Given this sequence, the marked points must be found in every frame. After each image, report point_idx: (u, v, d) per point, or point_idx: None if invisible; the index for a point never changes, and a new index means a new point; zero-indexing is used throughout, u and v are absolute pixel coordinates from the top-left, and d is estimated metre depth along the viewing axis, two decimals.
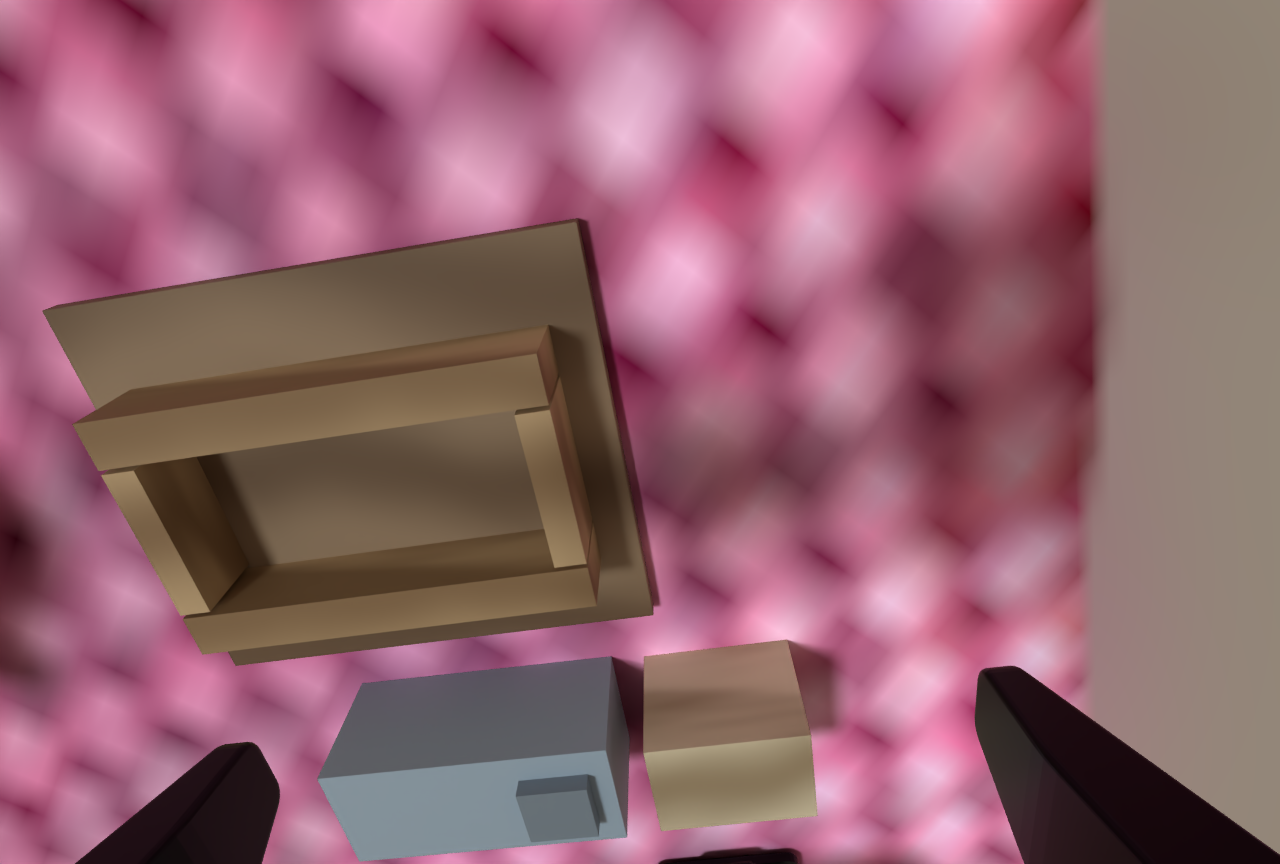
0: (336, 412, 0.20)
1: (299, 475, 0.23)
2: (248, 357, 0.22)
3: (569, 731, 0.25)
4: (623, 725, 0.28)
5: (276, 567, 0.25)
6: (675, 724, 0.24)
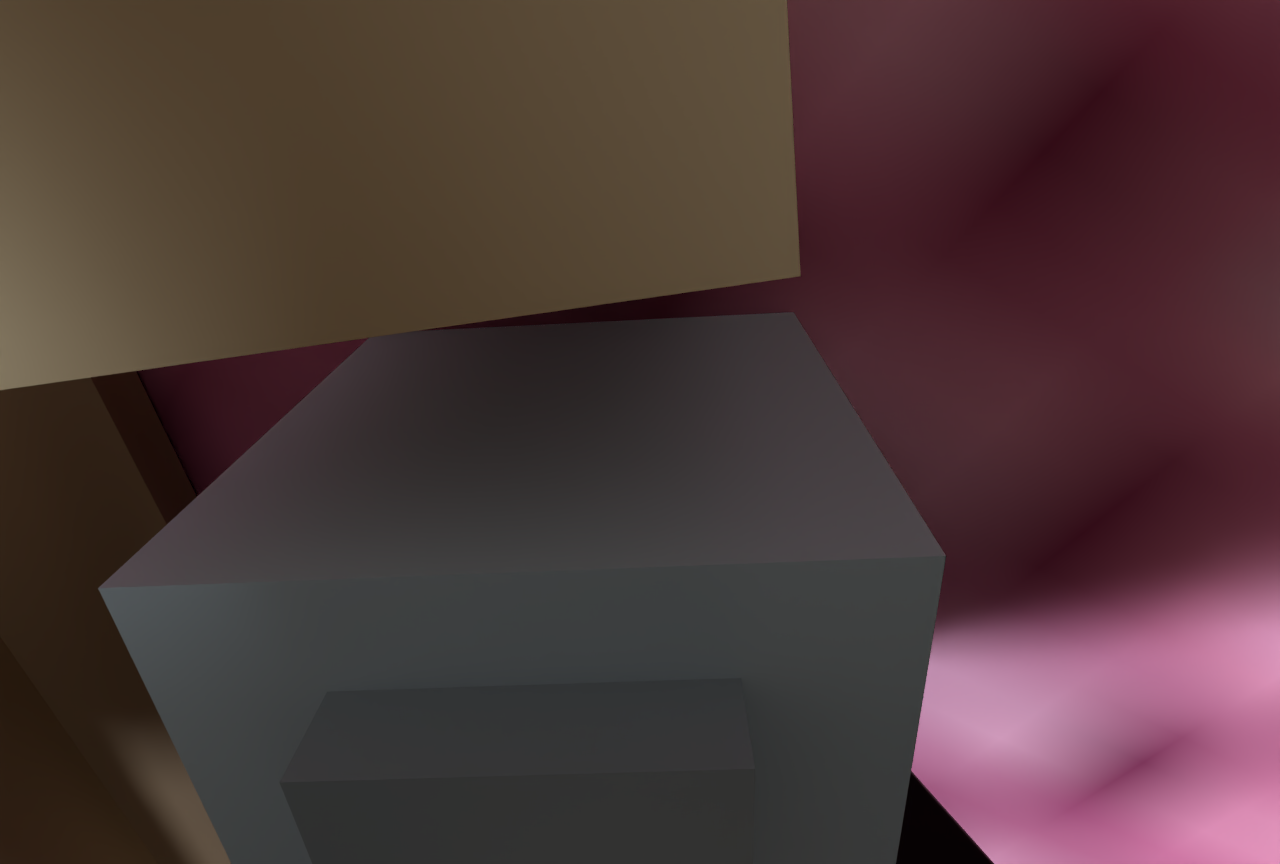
0: None
1: None
2: None
3: None
4: (659, 338, 0.07)
5: None
6: None
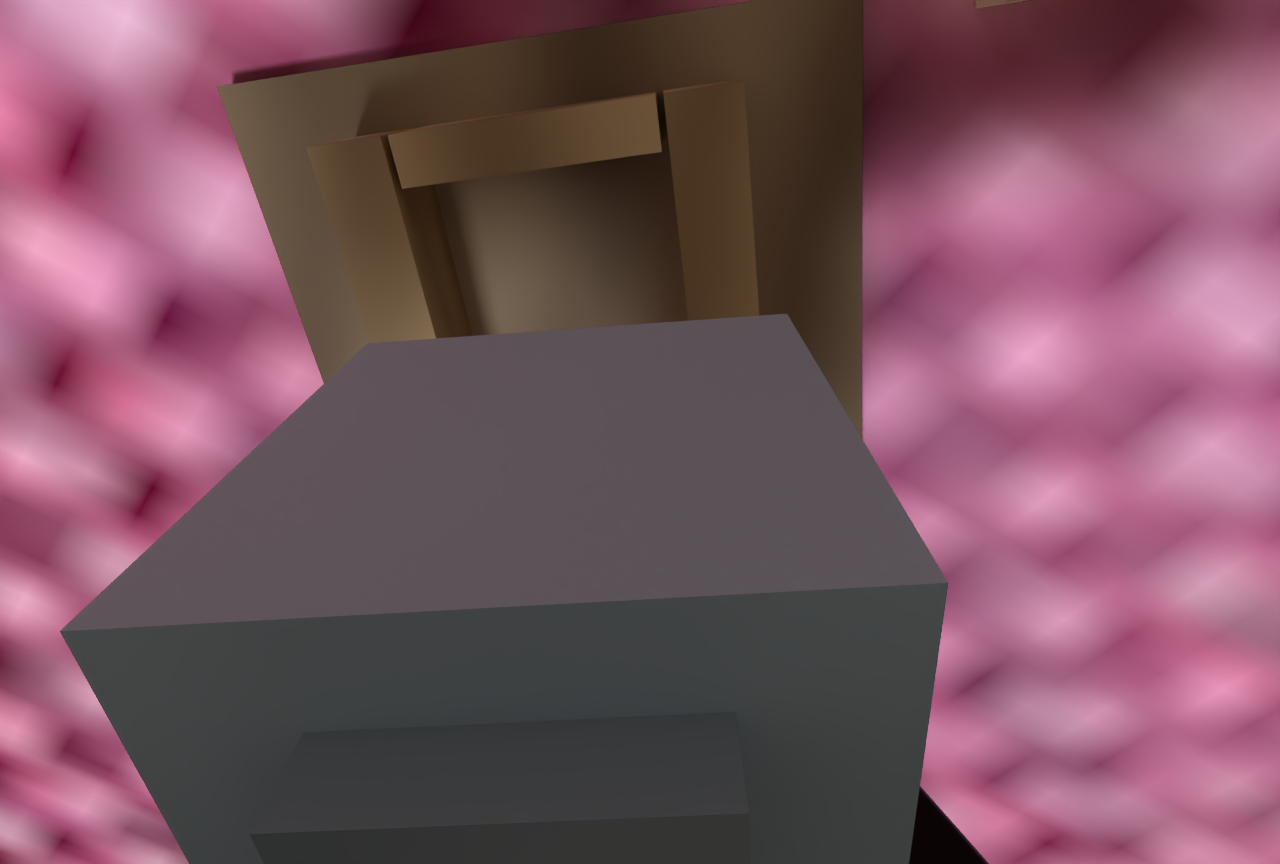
0: None
1: None
2: None
3: None
4: (652, 348, 0.07)
5: None
6: None
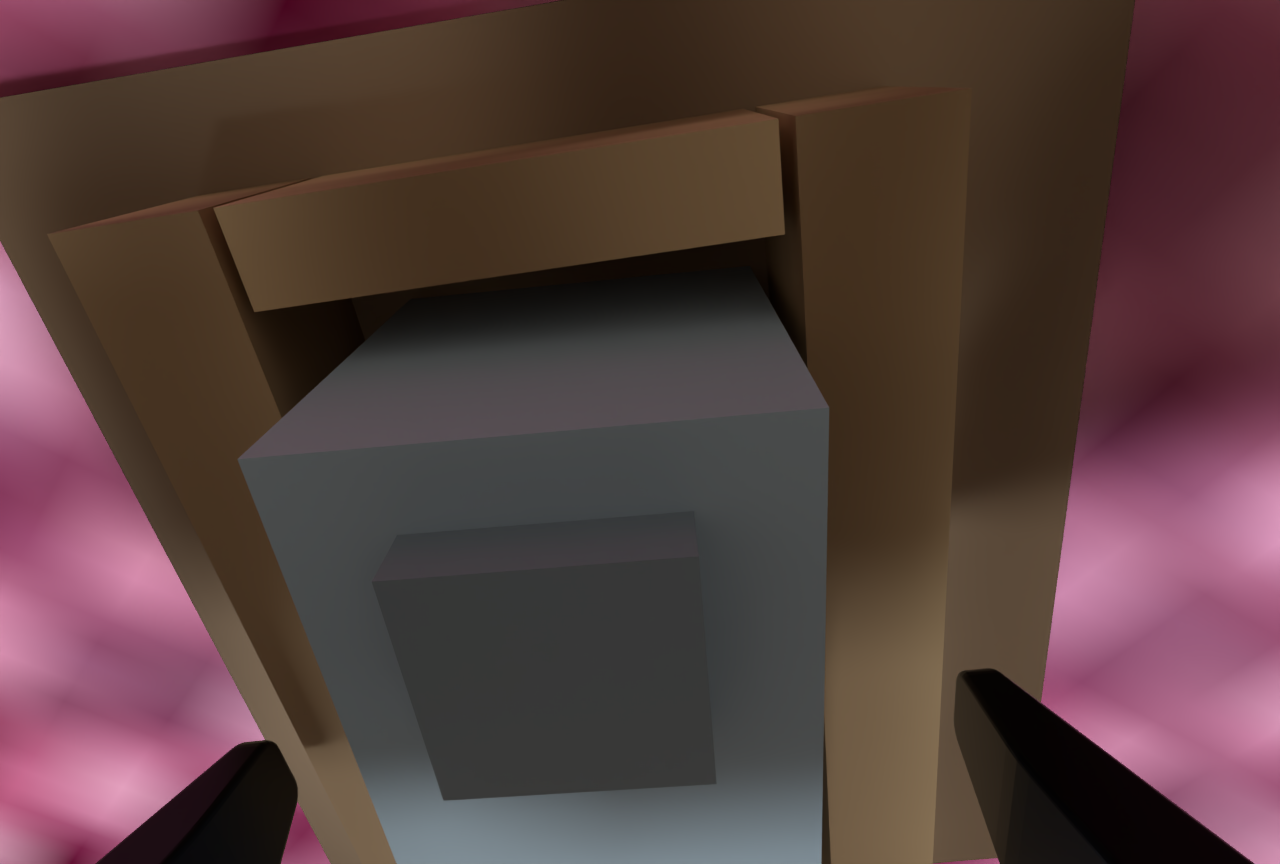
0: None
1: None
2: None
3: None
4: (640, 292, 0.09)
5: None
6: None
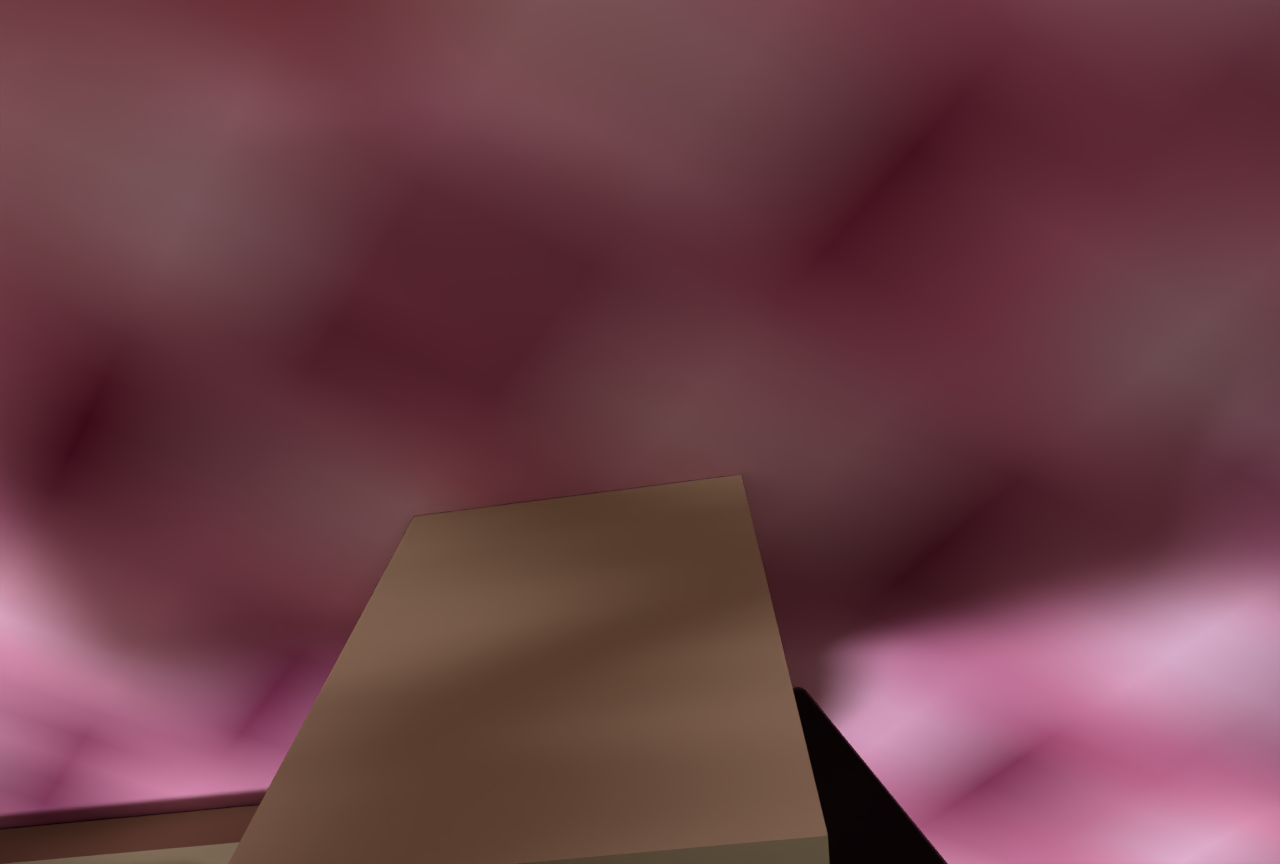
0: None
1: None
2: None
3: None
4: None
5: None
6: None
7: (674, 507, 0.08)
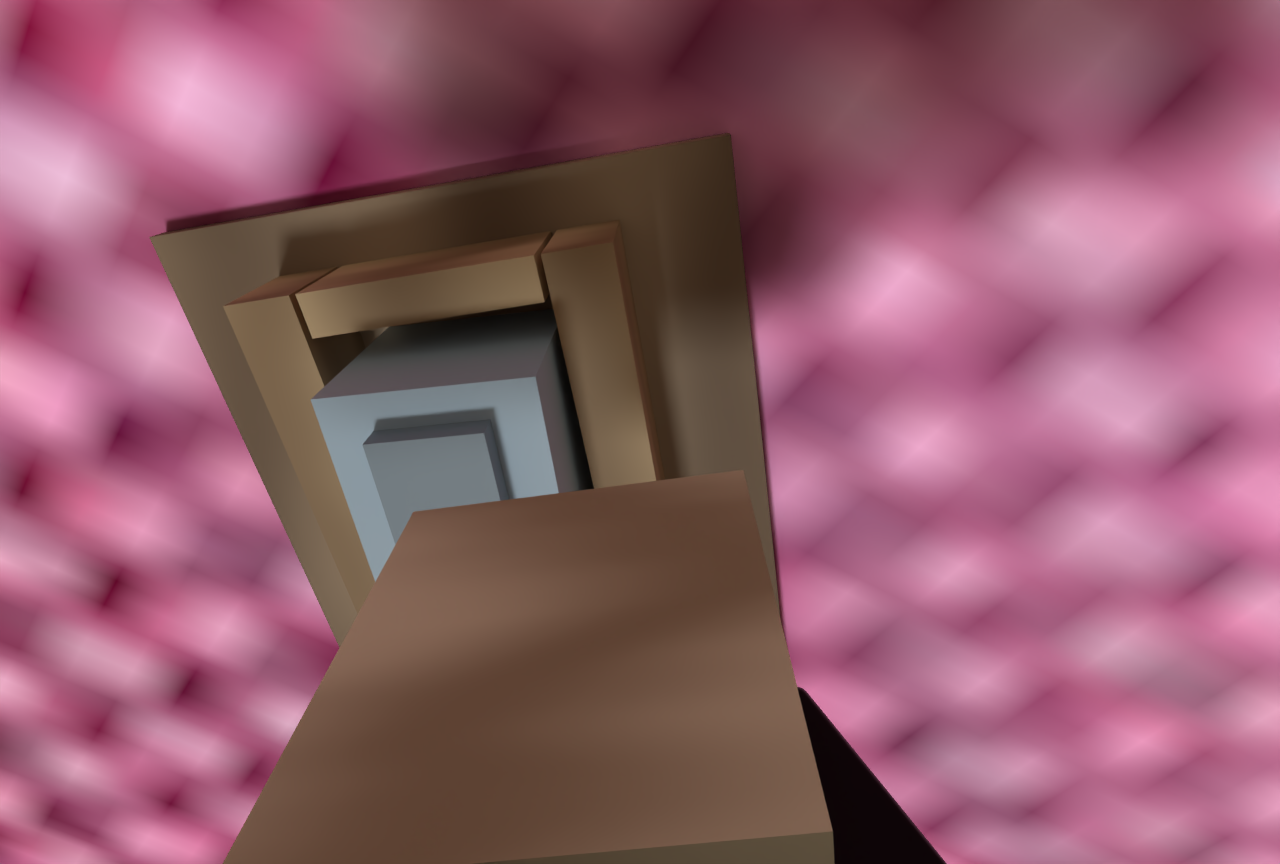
0: (351, 525, 0.18)
1: None
2: None
3: None
4: (501, 323, 0.17)
5: None
6: None
7: (676, 503, 0.08)
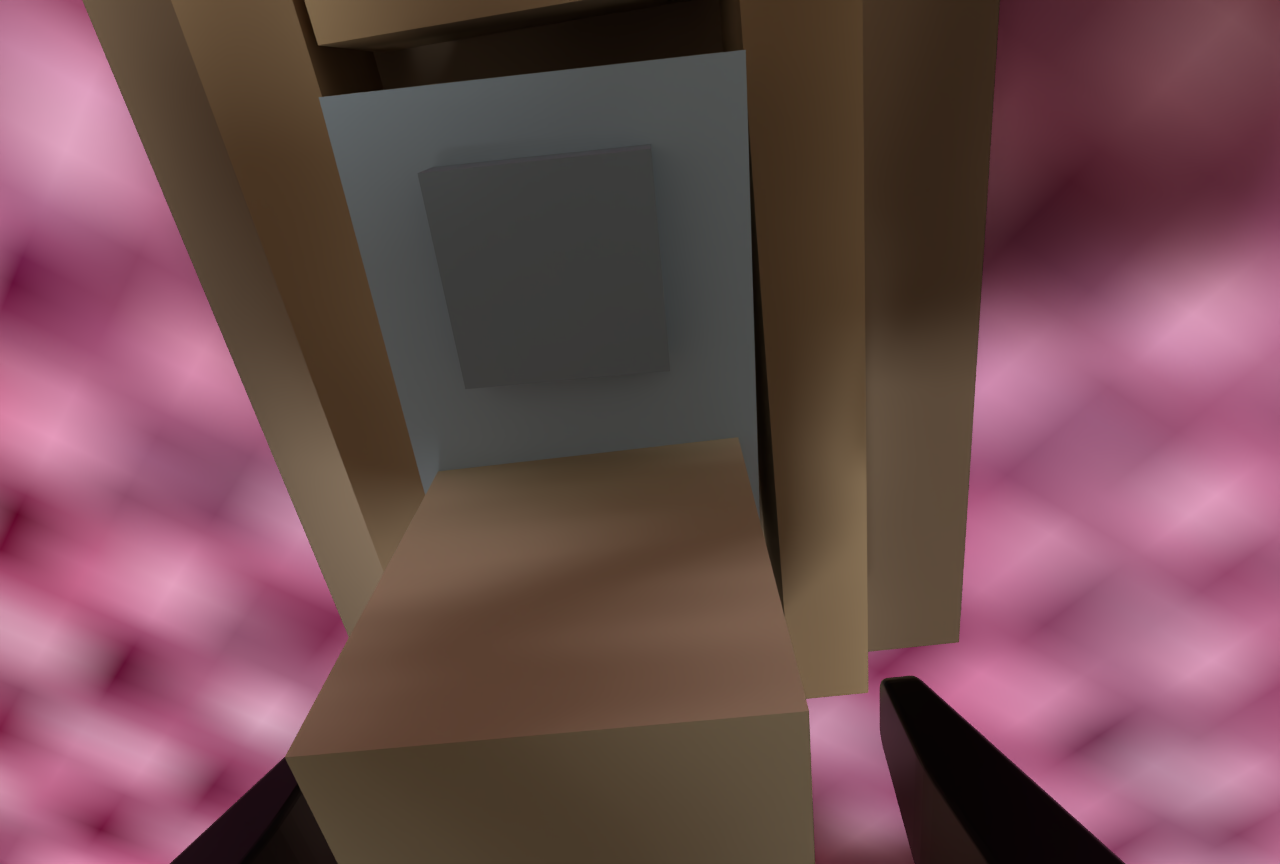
0: (370, 397, 0.11)
1: None
2: None
3: None
4: None
5: None
6: None
7: (678, 464, 0.09)
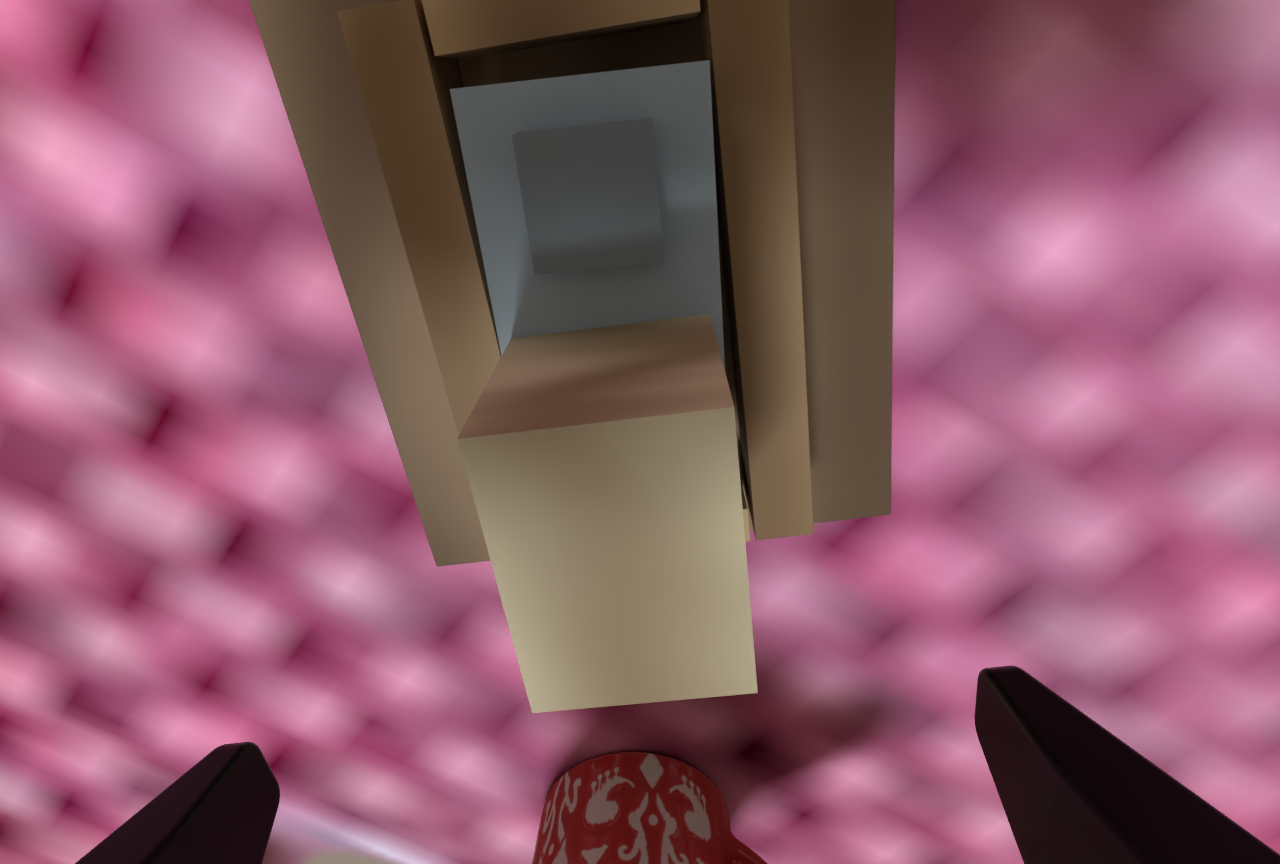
0: (455, 300, 0.16)
1: None
2: None
3: None
4: None
5: (739, 432, 0.20)
6: None
7: (669, 327, 0.14)
